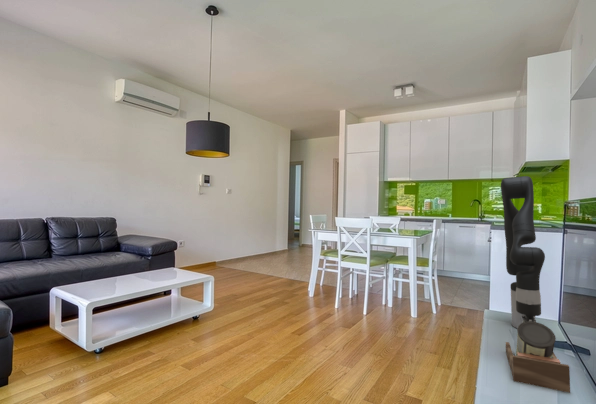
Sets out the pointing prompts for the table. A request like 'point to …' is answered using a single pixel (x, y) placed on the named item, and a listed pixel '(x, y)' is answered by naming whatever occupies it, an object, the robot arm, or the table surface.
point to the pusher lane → (539, 372)
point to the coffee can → (535, 339)
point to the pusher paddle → (538, 357)
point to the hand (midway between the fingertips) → (529, 346)
